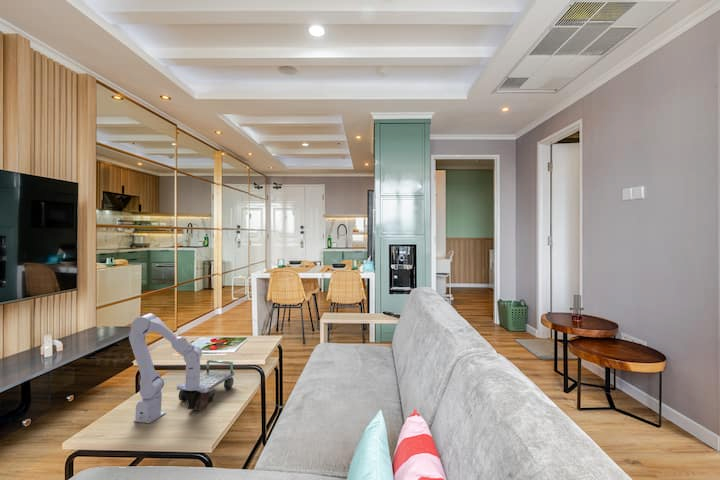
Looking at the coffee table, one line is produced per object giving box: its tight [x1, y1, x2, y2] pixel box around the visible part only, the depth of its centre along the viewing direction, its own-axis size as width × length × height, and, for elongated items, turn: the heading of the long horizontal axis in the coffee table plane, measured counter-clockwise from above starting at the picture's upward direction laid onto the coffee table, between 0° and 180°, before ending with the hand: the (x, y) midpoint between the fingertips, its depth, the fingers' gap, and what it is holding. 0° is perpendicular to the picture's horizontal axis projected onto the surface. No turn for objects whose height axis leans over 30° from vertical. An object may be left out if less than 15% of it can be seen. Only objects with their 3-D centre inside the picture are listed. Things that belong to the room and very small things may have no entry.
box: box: [187, 391, 210, 411], centre depth 156 cm, size 6×6×7 cm
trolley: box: [178, 359, 235, 404], centre depth 173 cm, size 23×16×14 cm
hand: (192, 407), depth 151 cm, fingers closed, pressing on box
